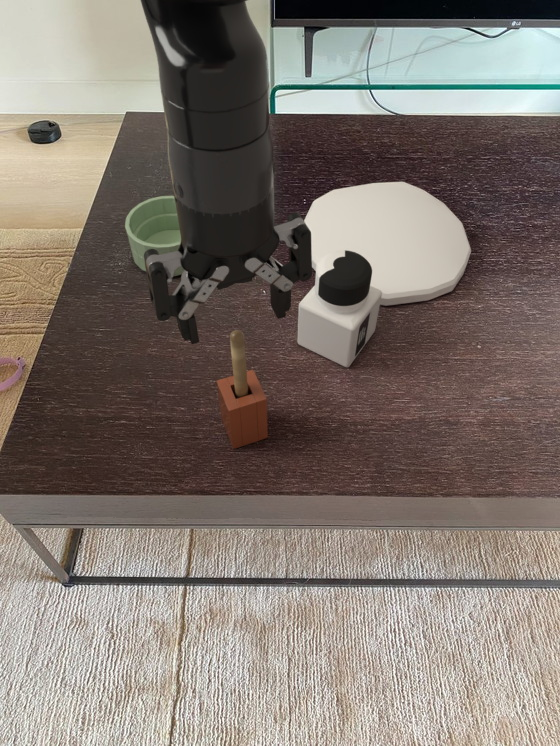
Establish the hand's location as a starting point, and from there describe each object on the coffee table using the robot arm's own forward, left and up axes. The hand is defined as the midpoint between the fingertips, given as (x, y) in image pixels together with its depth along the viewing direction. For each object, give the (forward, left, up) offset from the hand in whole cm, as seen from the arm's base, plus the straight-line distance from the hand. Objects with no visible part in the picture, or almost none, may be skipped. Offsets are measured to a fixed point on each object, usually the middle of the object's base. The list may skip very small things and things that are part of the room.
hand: (235, 324), depth 59 cm
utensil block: (0, 0, -19) cm, 19 cm away
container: (+16, +9, -19) cm, 26 cm away
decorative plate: (+30, +23, -19) cm, 42 cm away
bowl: (0, +33, -19) cm, 38 cm away
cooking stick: (0, 0, -19) cm, 19 cm away
